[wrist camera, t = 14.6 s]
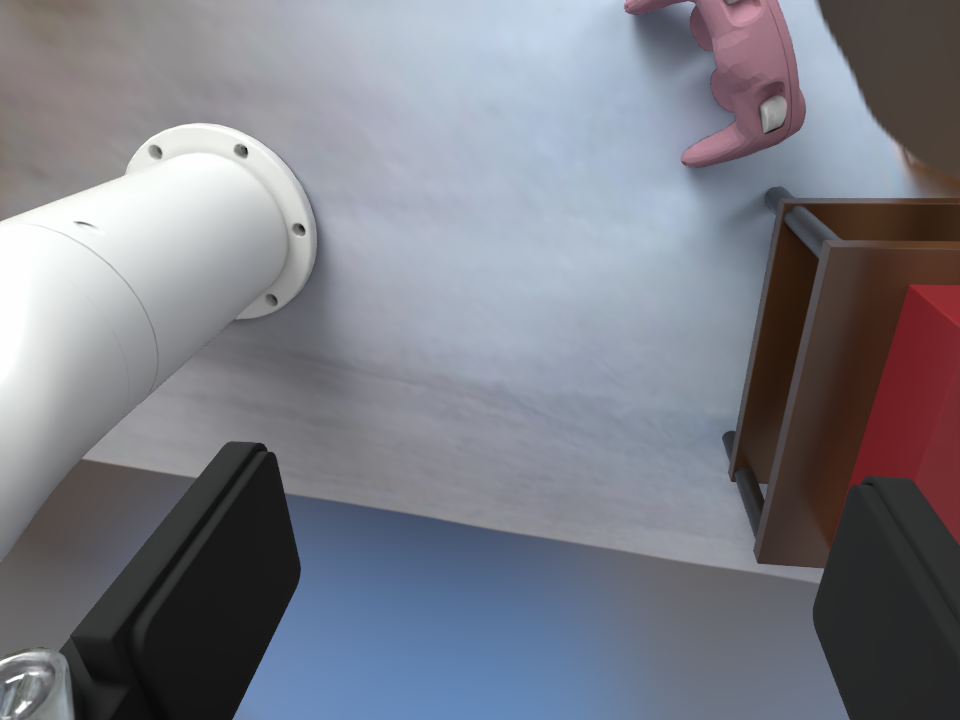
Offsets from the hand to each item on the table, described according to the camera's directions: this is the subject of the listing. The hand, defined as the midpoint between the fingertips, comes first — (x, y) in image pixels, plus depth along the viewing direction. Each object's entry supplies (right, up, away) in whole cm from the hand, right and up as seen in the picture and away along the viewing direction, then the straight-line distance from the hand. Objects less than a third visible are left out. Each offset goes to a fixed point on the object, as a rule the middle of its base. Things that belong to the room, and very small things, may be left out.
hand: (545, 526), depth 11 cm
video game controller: (+11, +19, +23) cm, 32 cm away
